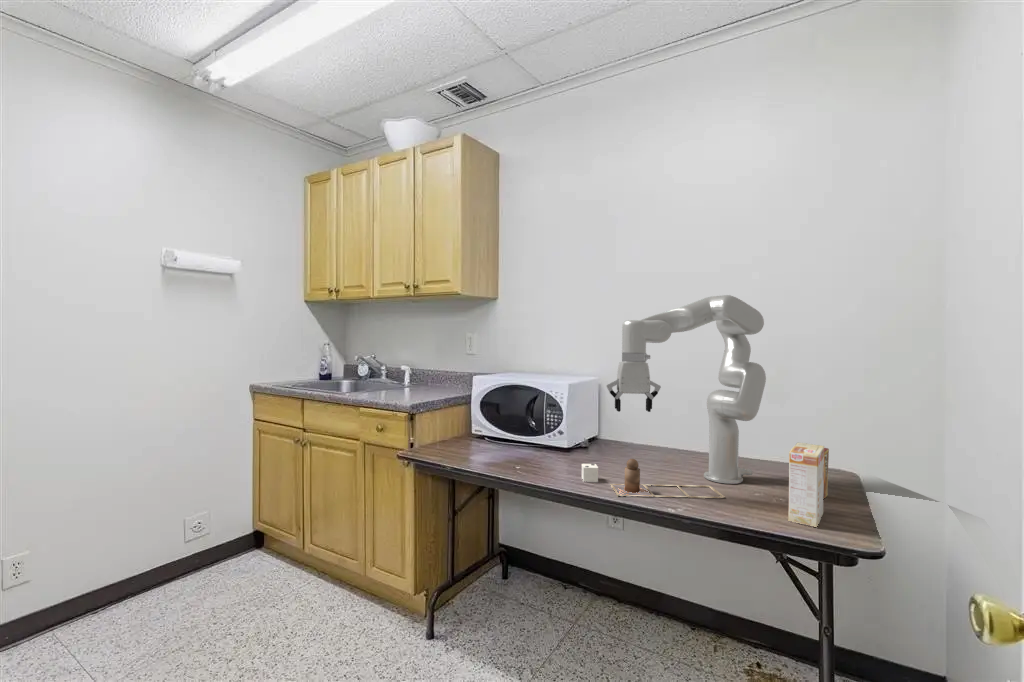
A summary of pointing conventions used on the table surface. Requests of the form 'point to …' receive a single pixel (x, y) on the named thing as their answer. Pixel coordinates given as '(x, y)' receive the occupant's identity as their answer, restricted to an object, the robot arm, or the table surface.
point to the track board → (668, 496)
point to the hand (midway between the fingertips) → (633, 411)
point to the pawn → (632, 476)
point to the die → (590, 472)
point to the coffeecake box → (806, 484)
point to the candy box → (825, 471)
